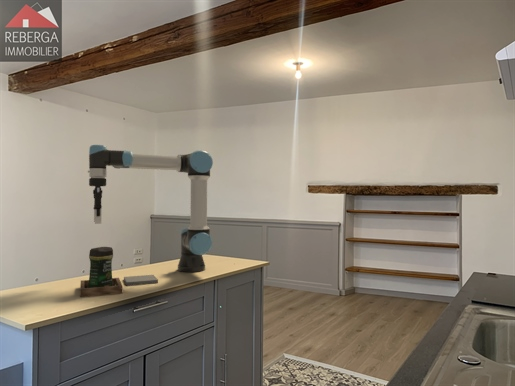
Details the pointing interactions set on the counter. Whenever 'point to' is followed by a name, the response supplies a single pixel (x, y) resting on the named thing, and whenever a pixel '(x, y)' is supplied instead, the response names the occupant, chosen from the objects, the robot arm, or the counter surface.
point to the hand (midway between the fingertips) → (97, 222)
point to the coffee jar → (100, 267)
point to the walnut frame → (100, 288)
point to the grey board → (140, 280)
